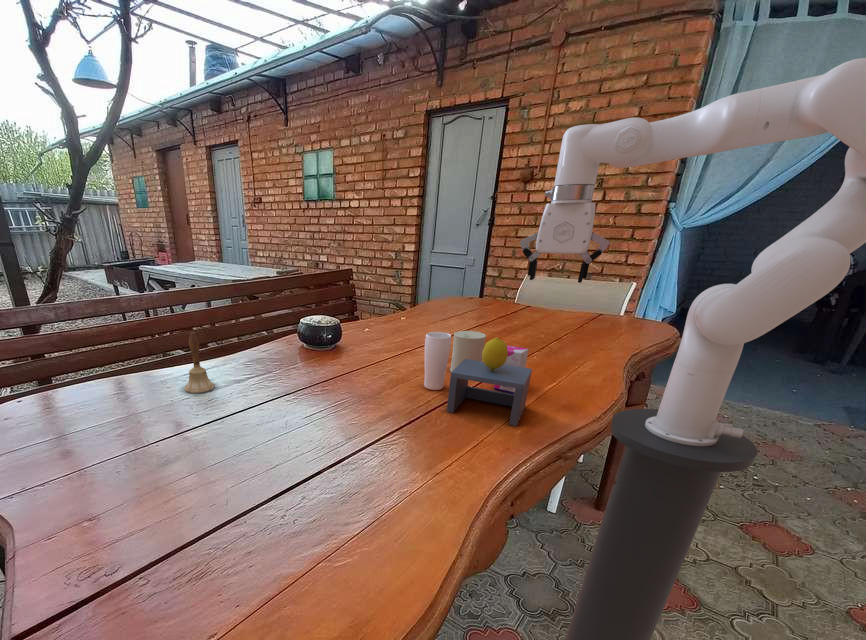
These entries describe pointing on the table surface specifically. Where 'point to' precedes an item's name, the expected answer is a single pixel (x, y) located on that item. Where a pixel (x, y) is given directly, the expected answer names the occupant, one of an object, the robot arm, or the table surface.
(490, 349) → the lemon
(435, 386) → the drinking glass
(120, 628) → the table surface
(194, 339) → the hand bell
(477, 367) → the shelf
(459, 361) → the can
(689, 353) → the robot arm
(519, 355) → the supplement box
